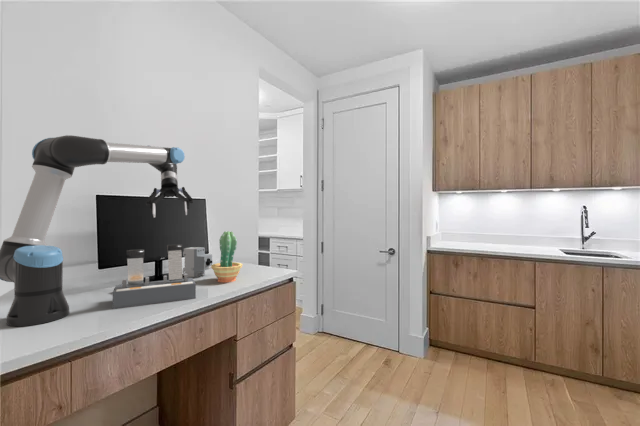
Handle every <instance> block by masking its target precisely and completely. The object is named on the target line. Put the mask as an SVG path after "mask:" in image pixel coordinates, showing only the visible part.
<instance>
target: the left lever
mask: <svg viewBox="0 0 640 426" xmlns="http://www.w3.org/2000/svg"><path fill="white" fill-rule="evenodd" d="M144 258H145V249H129V250H128V249H126V252H125V259H126V261H127V262H126V263H127V284H128V286H134V285H143V282H144Z"/></svg>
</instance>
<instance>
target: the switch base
mask: <svg viewBox="0 0 640 426" xmlns="http://www.w3.org/2000/svg"><path fill="white" fill-rule="evenodd" d="M183 276H184V277H183V278H182V280H175V281H169V279H168V275H167V274H163V280H154V281H150V276H145V281H143V285H134V286H128V278H123V279H122V280H121V284H116V285H115V286H114V288H113V290H112V310H113V309H114V310H115V309H120V308H121V309H122V308H123V309H124V308H130V307H137V306H144V305H145V306H146V305H153V304H154V305H155V304H160V303H161V304H162V303H169V302H177V301H185V300H193V299H196V297H197V295H196V292H197V291H196V290H197V287H196V286H197V284H196V282H195V280H194V277H188V275H187V273H186V274H183Z"/></svg>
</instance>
